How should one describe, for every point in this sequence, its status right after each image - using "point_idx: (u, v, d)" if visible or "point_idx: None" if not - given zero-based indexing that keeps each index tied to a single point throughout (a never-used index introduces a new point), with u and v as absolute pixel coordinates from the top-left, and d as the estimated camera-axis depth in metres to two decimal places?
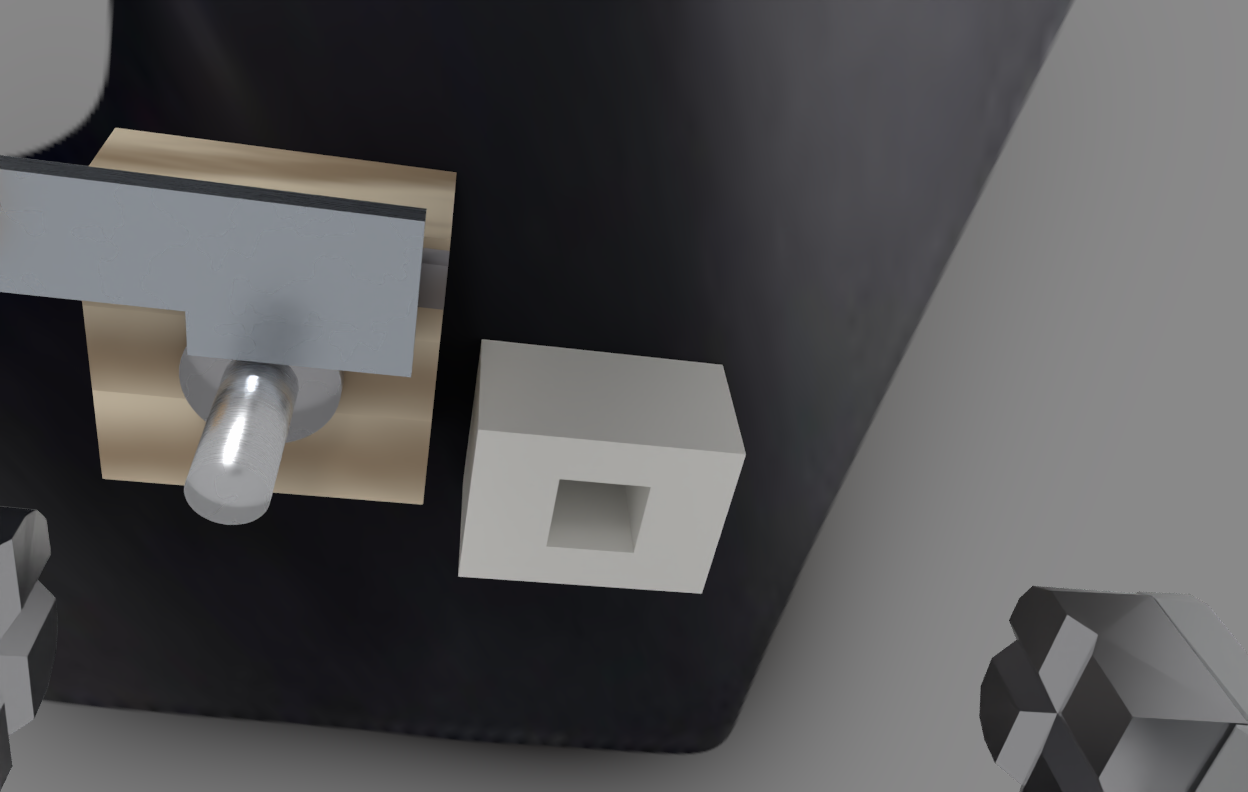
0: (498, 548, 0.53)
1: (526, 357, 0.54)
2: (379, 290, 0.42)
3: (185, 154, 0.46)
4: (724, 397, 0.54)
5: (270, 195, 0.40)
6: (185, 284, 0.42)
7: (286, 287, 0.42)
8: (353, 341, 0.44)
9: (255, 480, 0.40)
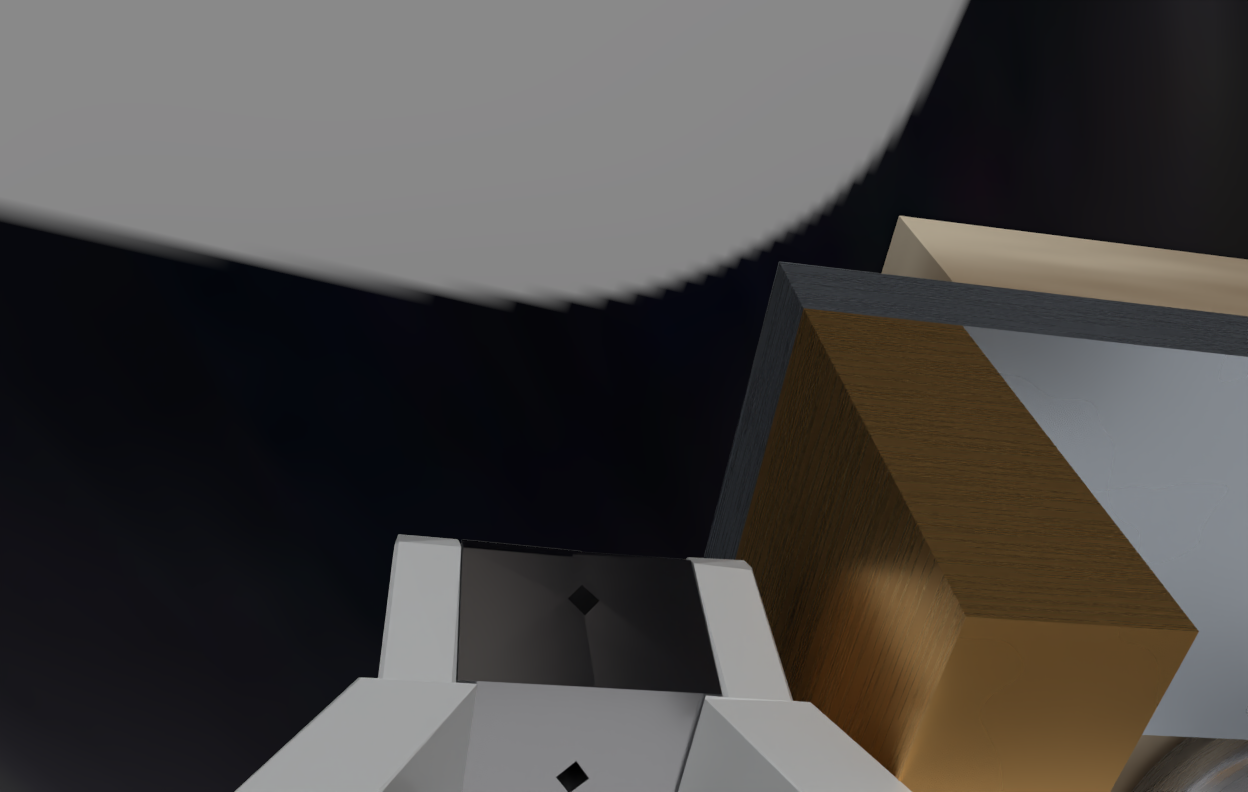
0: None
1: None
2: None
3: (1112, 276, 0.18)
4: None
5: None
6: None
7: None
8: None
9: None
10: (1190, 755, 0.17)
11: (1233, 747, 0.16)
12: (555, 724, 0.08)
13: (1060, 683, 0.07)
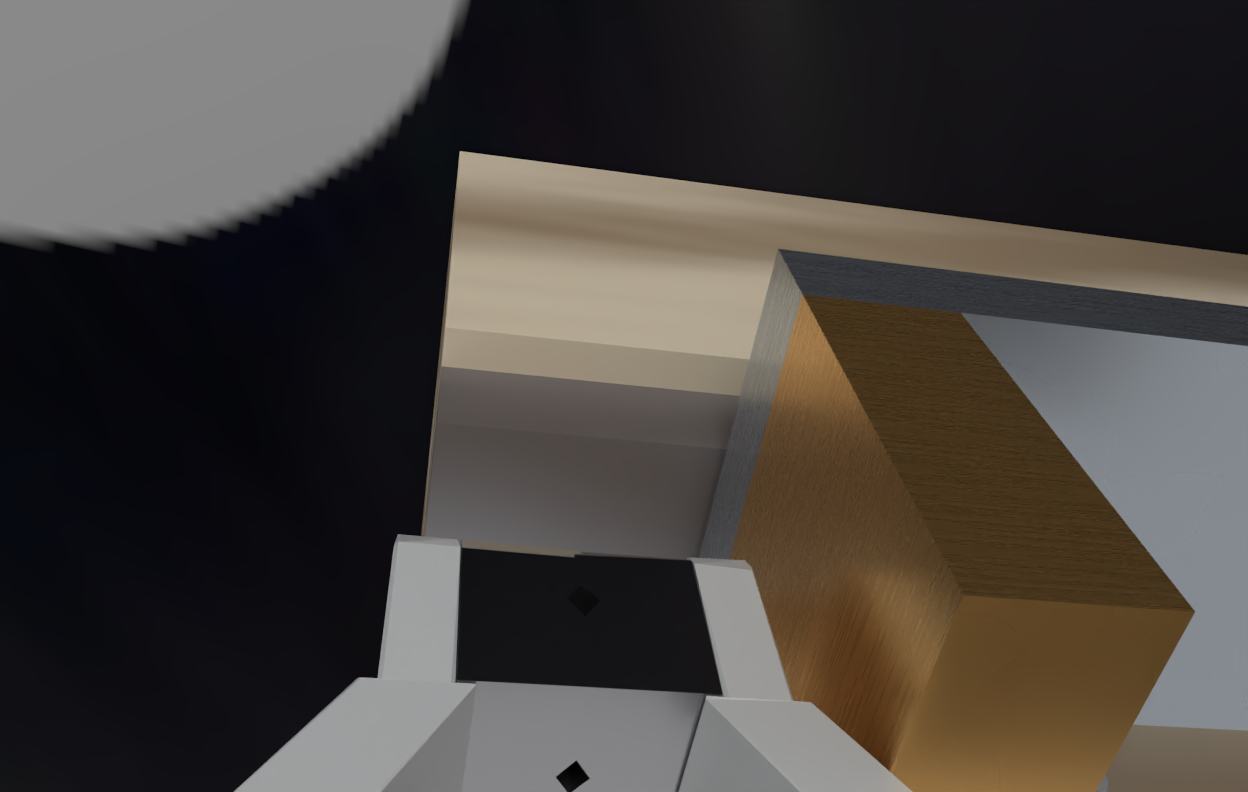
0: None
1: None
2: None
3: (666, 213, 0.17)
4: None
5: None
6: None
7: None
8: None
9: None
10: None
11: None
12: (554, 724, 0.08)
13: (1057, 664, 0.07)
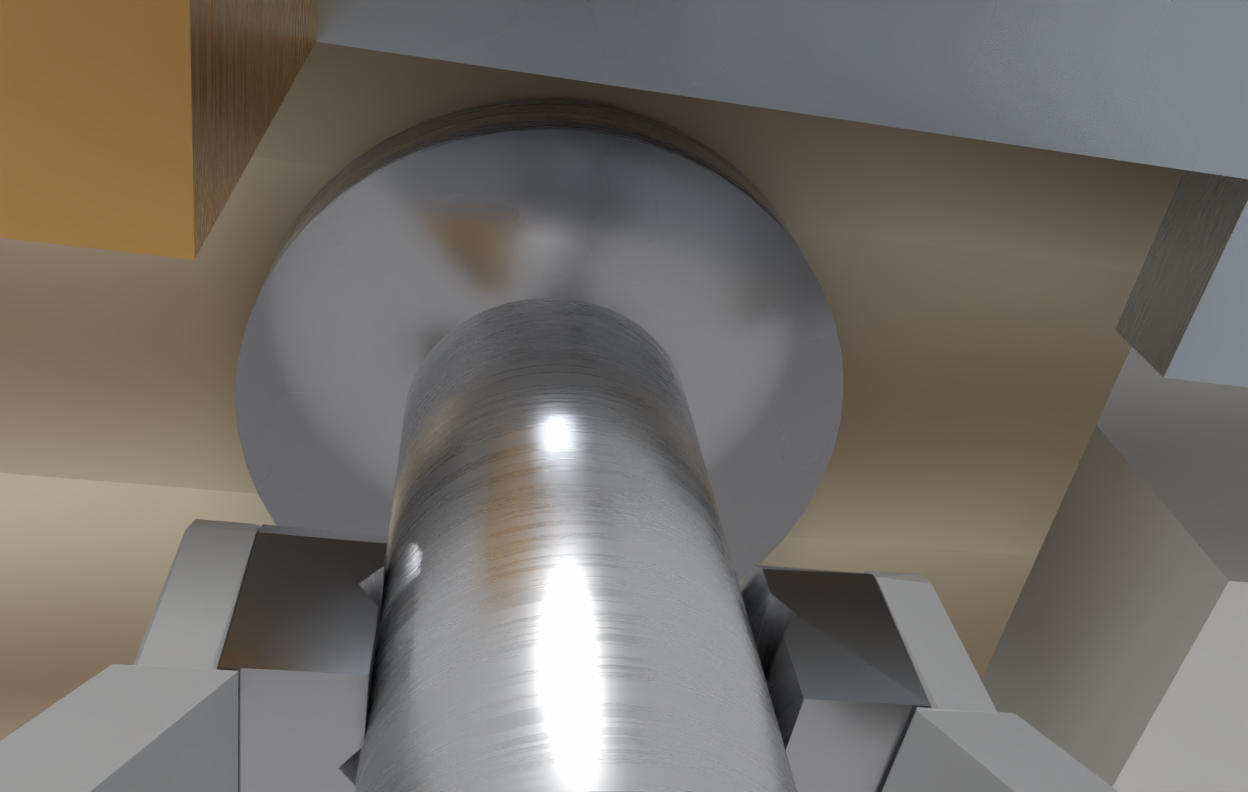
0: None
1: (1153, 371, 0.20)
2: None
3: None
4: None
5: None
6: None
7: None
8: None
9: None
10: (287, 234, 0.11)
11: (319, 203, 0.11)
12: (329, 713, 0.07)
13: None
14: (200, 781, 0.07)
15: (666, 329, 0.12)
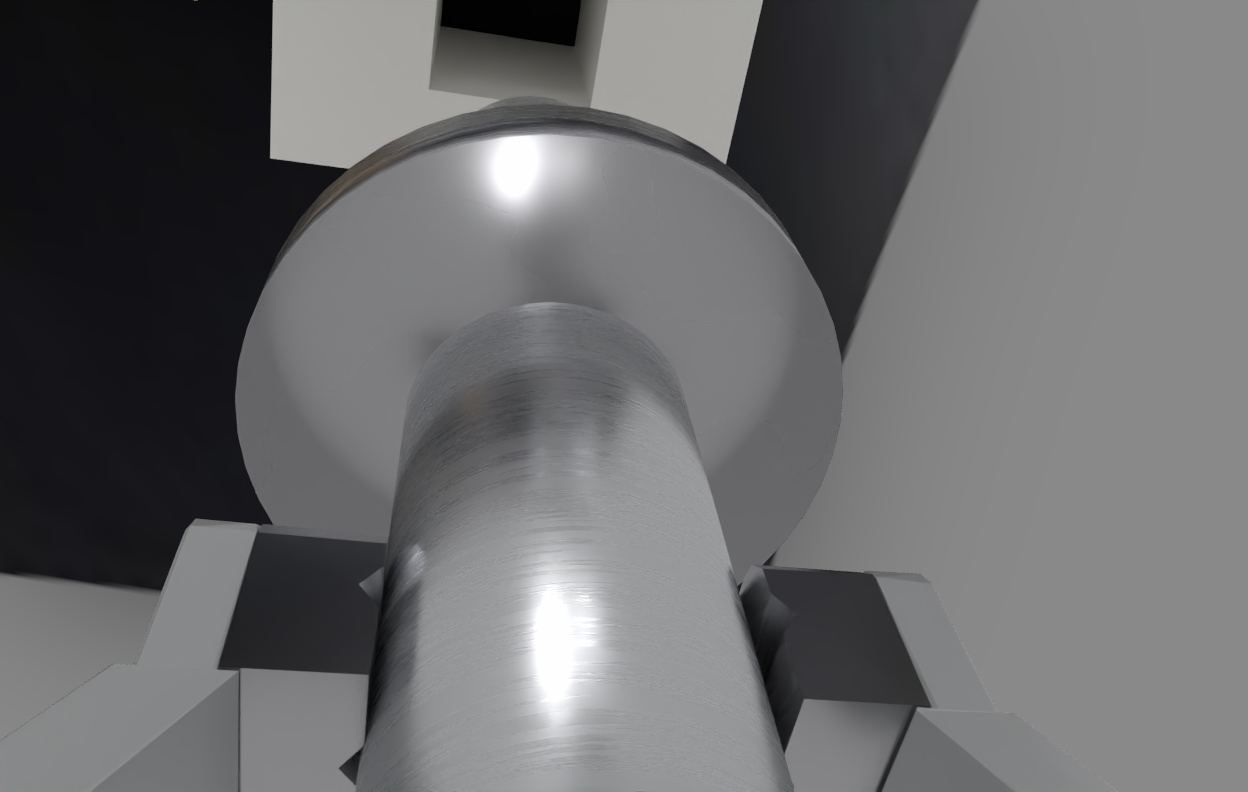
0: (340, 90, 0.29)
1: None
2: None
3: None
4: None
5: None
6: None
7: None
8: None
9: None
10: (287, 238, 0.11)
11: (319, 208, 0.11)
12: (330, 712, 0.07)
13: None
14: (201, 780, 0.07)
15: (666, 334, 0.12)
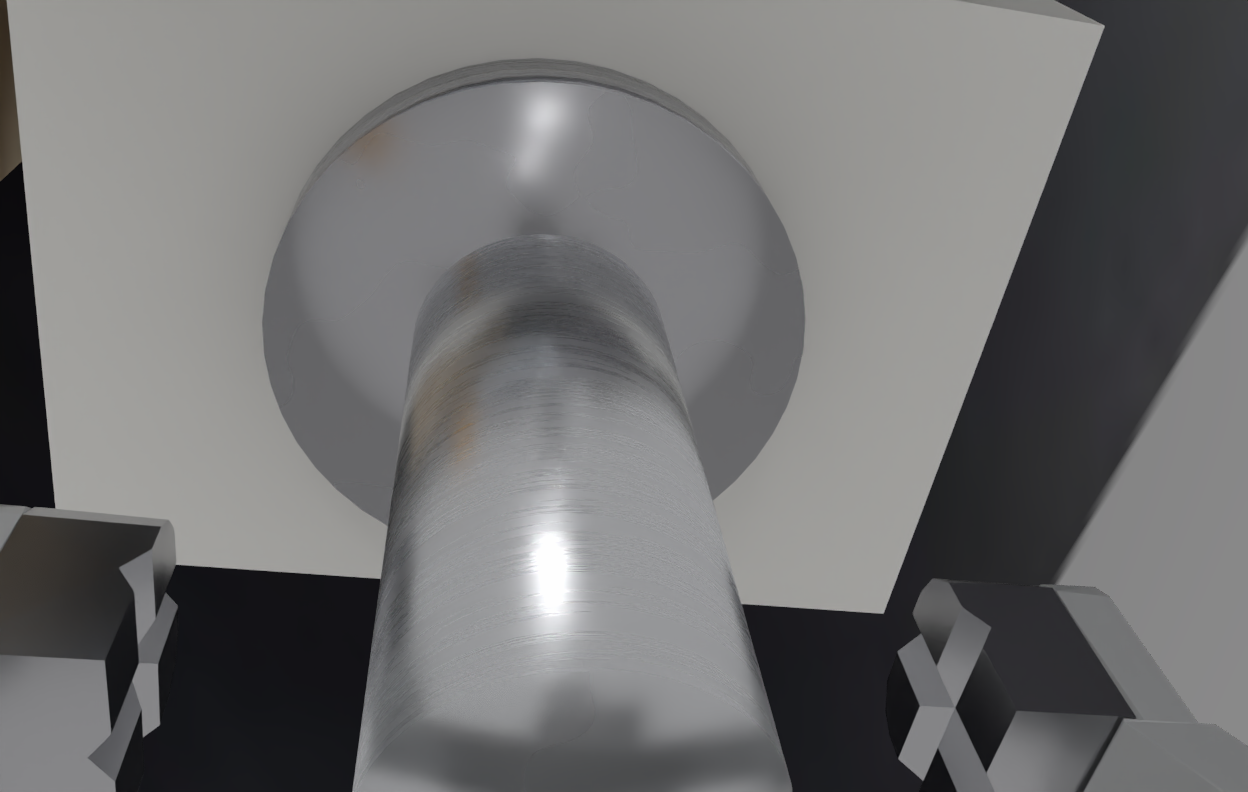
0: (187, 444, 0.15)
1: None
2: None
3: None
4: None
5: None
6: None
7: None
8: None
9: (739, 760, 0.07)
10: (309, 178, 0.13)
11: (337, 149, 0.12)
12: (68, 700, 0.07)
13: None
14: None
15: (646, 264, 0.13)
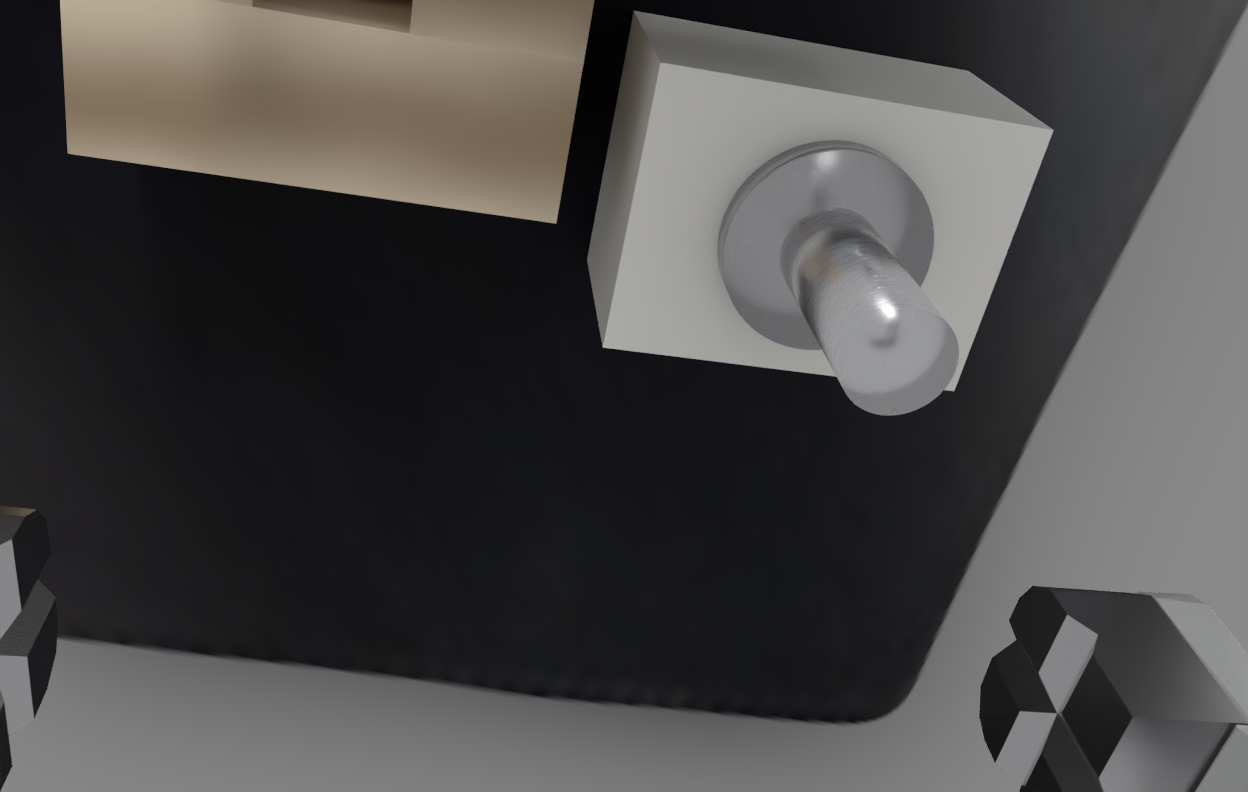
0: (668, 296, 0.35)
1: (702, 29, 0.37)
2: None
3: None
4: (989, 90, 0.37)
5: None
6: None
7: None
8: None
9: (946, 340, 0.28)
10: (745, 184, 0.33)
11: (762, 174, 0.33)
12: None
13: None
14: None
15: (874, 220, 0.33)
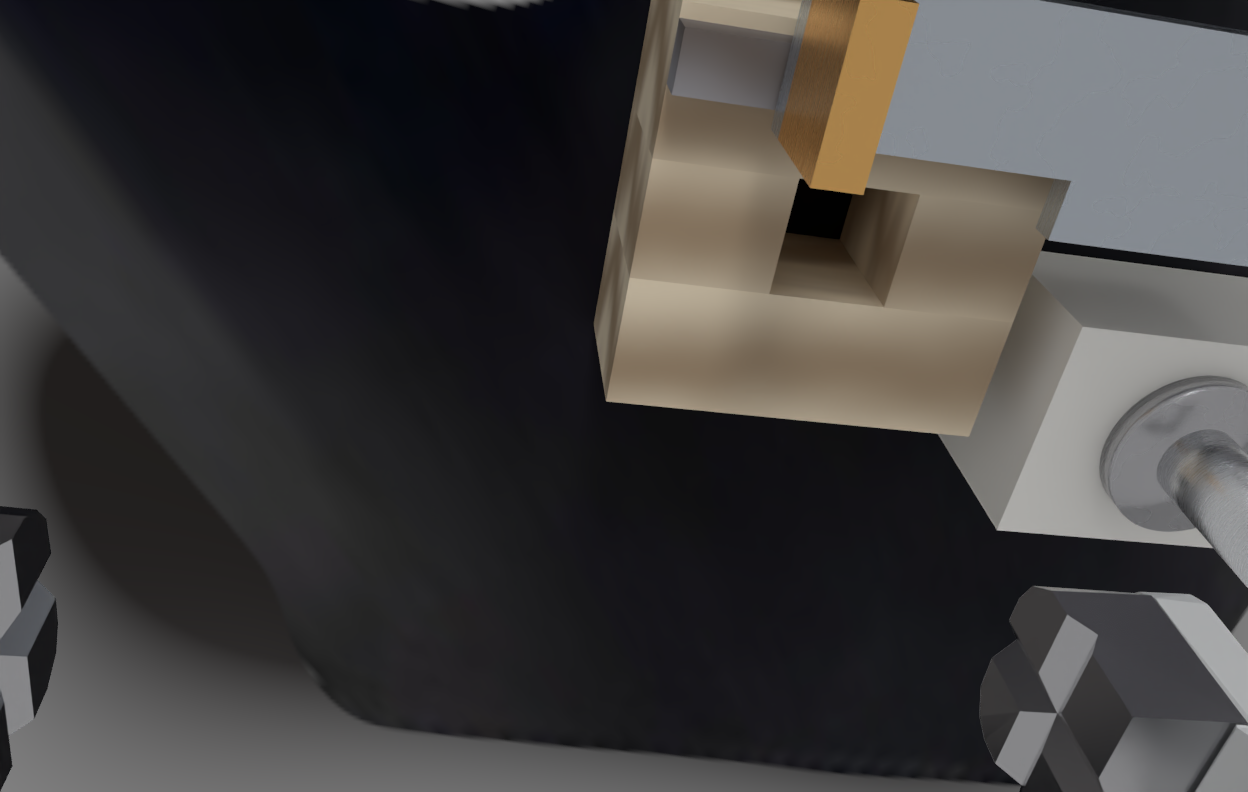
0: (1055, 491, 0.43)
1: (1066, 264, 0.45)
2: None
3: None
4: None
5: (1218, 28, 0.33)
6: (1087, 144, 0.34)
7: (1198, 148, 0.35)
8: (1240, 222, 0.36)
9: None
10: (1134, 411, 0.41)
11: (1150, 405, 0.41)
12: None
13: (886, 18, 0.28)
14: None
15: (1236, 437, 0.41)
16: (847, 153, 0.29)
